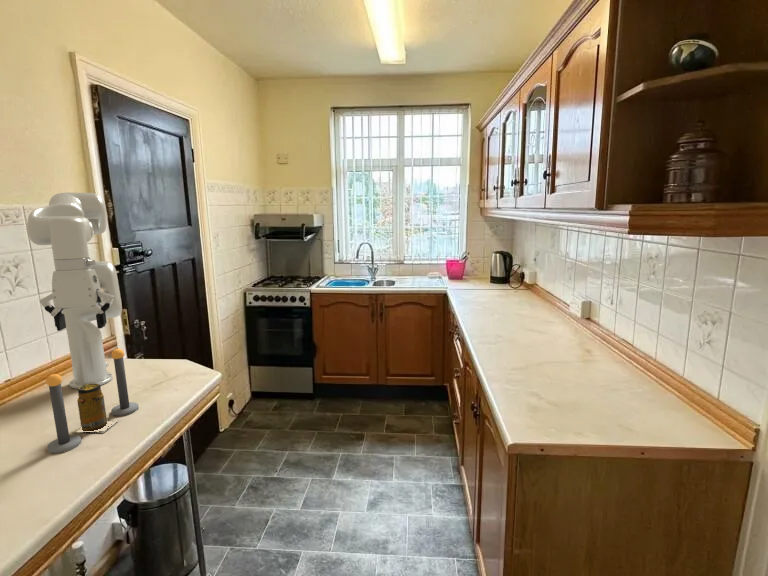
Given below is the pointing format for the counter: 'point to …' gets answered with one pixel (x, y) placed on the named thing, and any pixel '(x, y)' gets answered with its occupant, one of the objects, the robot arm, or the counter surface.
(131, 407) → the stand
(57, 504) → the counter surface
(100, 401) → the condiment
